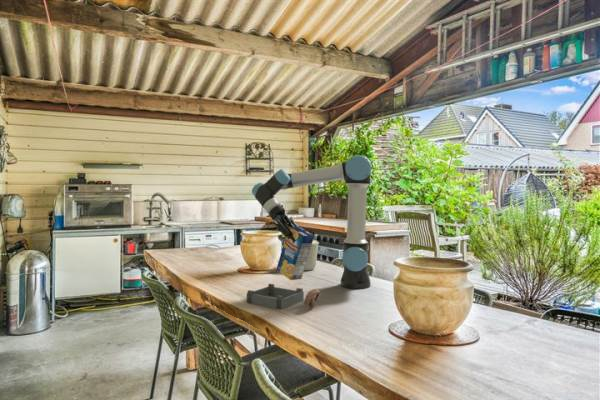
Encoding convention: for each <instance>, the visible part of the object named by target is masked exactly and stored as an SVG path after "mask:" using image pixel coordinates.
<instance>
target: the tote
mask: <svg viewBox="0 0 600 400" xmlns="http://www.w3.org/2000/svg"><path fill="white" fill-rule="evenodd" d="M304 293H305V292H304V288H299V287H297V288H296V290H295V289H288V288H283V287H277V286H275V284H274V283H269V284H268V286H266V287H265V286H264V287H262V288H260V289H257V290H247V293H246V304H252V305H257V306H260V307H261V306H262V307H268V308H273V309H279V310H285V309H288V308H289V307H292V306H294V305H296V304H299V303H301V302H304V300H305V297H304V296H305V294H304Z"/></svg>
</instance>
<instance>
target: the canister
mask: <svg viewBox="0 0 600 400" xmlns="http://www.w3.org/2000/svg"><path fill="white" fill-rule="evenodd" d="M319 244H320V242H318V240H316V239H313V243H312V246H311V249H310V252H309V256H308V259H307V262H306V265H305V269H304V272H306V271H312V270H315V268H316V267H317V259H318V249H319Z"/></svg>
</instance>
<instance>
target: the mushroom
mask: <svg viewBox="0 0 600 400" xmlns="http://www.w3.org/2000/svg"><path fill="white" fill-rule="evenodd" d="M320 294H321V291H320V290H319V289H317V288H315V289H311V290H309V291H308V292H307V293H306V295H305V297H304V301H303V304H304V305H305V306H308V307H309V309H310V310H313V308H314V307H315V305H316V302H317V300H318V298H319V297H320Z"/></svg>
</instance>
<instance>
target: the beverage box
mask: <svg viewBox="0 0 600 400" xmlns="http://www.w3.org/2000/svg"><path fill="white" fill-rule="evenodd" d="M289 229H290V230H291V232H292V233H293V237H294V238H295V240H296V241H295V242H293V241H292V240H291V238H290V239H288V237H285V239H284V242H283V245H282V246H283V247H282V249H281V253H280V257H279V259H278V261H277V266H276V270H277V271H278V272H279V273H280V274H282V275H283V276H285V278H287V279H288V280H290V281H296V280H302V279H303V275H304V272H305V271H304V269H305V265H306V262H307V259H308V256H309V252H310V249H311V246H312V243H313V240H315V235H314V234H312V233H311V232H309V231H307V230H306V229H304V228H303V227H301V226H299V227H289Z"/></svg>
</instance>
